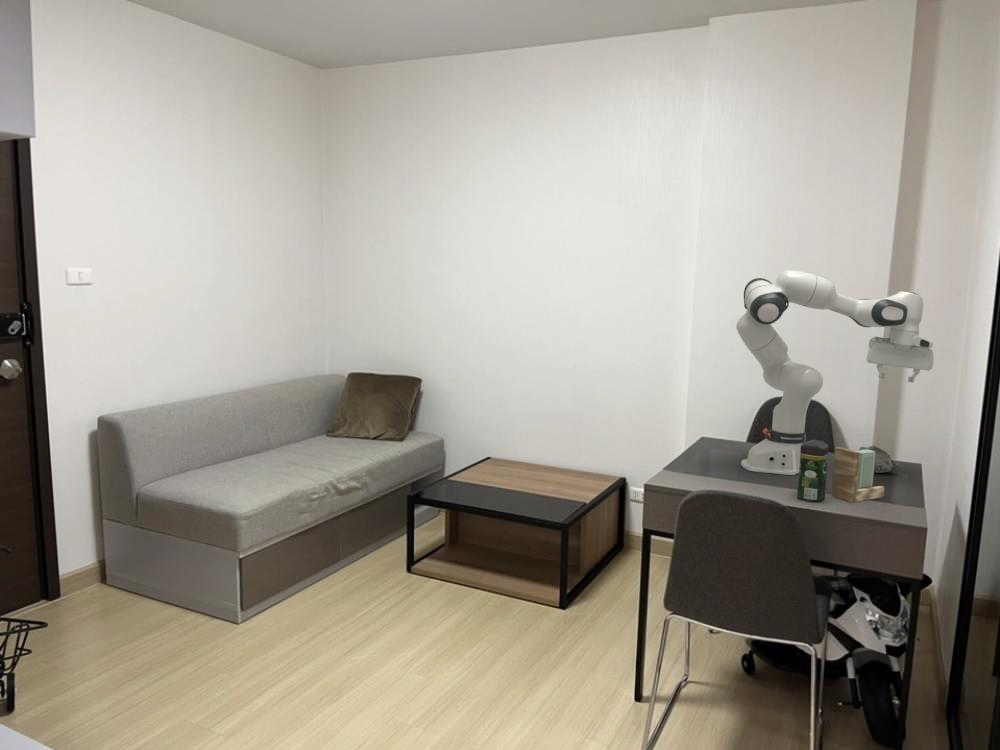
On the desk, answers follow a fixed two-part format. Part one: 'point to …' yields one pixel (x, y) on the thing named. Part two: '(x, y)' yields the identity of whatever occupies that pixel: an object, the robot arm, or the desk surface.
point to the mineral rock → (882, 460)
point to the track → (850, 478)
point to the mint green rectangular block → (865, 469)
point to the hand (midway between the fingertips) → (896, 380)
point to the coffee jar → (812, 470)
